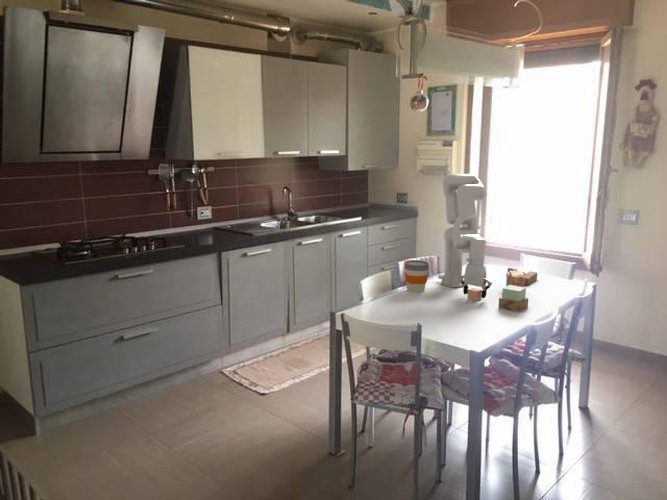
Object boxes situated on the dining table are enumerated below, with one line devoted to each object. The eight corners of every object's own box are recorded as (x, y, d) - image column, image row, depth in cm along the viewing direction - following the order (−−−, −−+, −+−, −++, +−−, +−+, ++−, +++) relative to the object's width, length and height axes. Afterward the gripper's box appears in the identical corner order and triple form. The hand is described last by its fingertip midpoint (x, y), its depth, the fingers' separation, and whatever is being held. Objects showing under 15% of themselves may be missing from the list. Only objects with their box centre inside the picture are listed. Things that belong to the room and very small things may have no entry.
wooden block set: (538, 270, 311) (529, 276, 296) (537, 280, 312) (528, 286, 297) (508, 266, 320) (498, 272, 306) (507, 275, 321) (497, 281, 307)
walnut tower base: (498, 308, 259) (499, 298, 258) (507, 303, 266) (508, 294, 265) (518, 313, 252) (519, 302, 251) (527, 308, 260) (528, 298, 259)
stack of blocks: (505, 288, 292) (507, 266, 290) (517, 289, 291) (519, 266, 289) (510, 300, 272) (512, 276, 269) (523, 300, 271) (525, 276, 268)
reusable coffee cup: (418, 286, 295) (420, 259, 292) (432, 292, 284) (433, 264, 281) (399, 289, 290) (400, 261, 287) (412, 295, 279) (413, 266, 275)
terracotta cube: (467, 299, 272) (467, 289, 271) (472, 297, 276) (472, 287, 275) (476, 301, 269) (477, 291, 268) (481, 299, 272) (481, 289, 271)
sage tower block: (502, 298, 258) (502, 288, 257) (508, 294, 264) (509, 284, 263) (518, 301, 253) (519, 291, 252) (525, 297, 259) (526, 287, 258)
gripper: (456, 260, 271) (455, 294, 275) (489, 266, 260) (487, 301, 263) (464, 258, 277) (462, 291, 280) (496, 263, 265) (494, 297, 269)
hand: (474, 295), depth 272 cm, fingers open, 9 cm apart
